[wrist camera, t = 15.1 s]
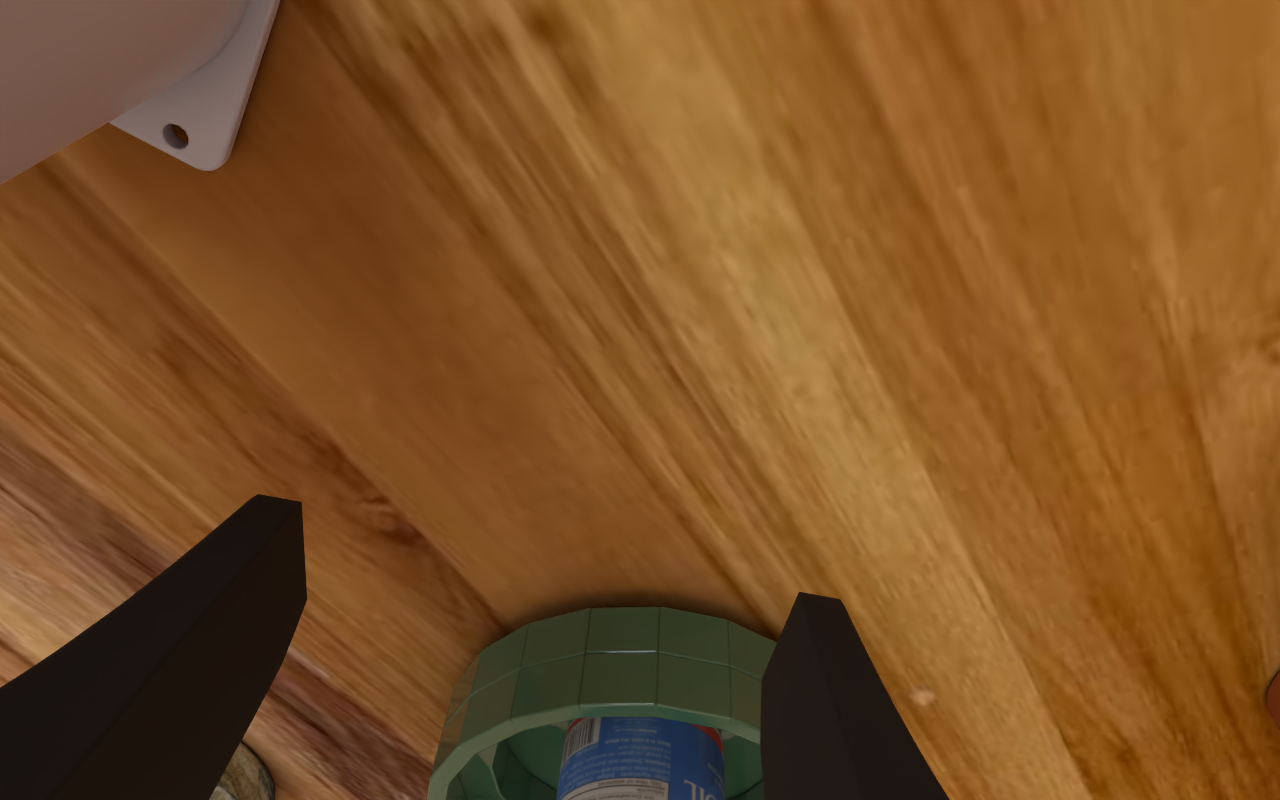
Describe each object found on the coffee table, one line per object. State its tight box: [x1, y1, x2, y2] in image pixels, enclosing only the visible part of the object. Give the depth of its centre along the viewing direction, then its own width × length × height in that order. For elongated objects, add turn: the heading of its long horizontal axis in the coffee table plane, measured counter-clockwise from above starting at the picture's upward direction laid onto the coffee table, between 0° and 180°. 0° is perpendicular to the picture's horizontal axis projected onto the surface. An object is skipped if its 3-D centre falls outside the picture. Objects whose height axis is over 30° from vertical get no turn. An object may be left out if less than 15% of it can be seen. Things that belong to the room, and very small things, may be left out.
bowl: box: [426, 606, 777, 800], centre depth 28 cm, size 13×13×4 cm
